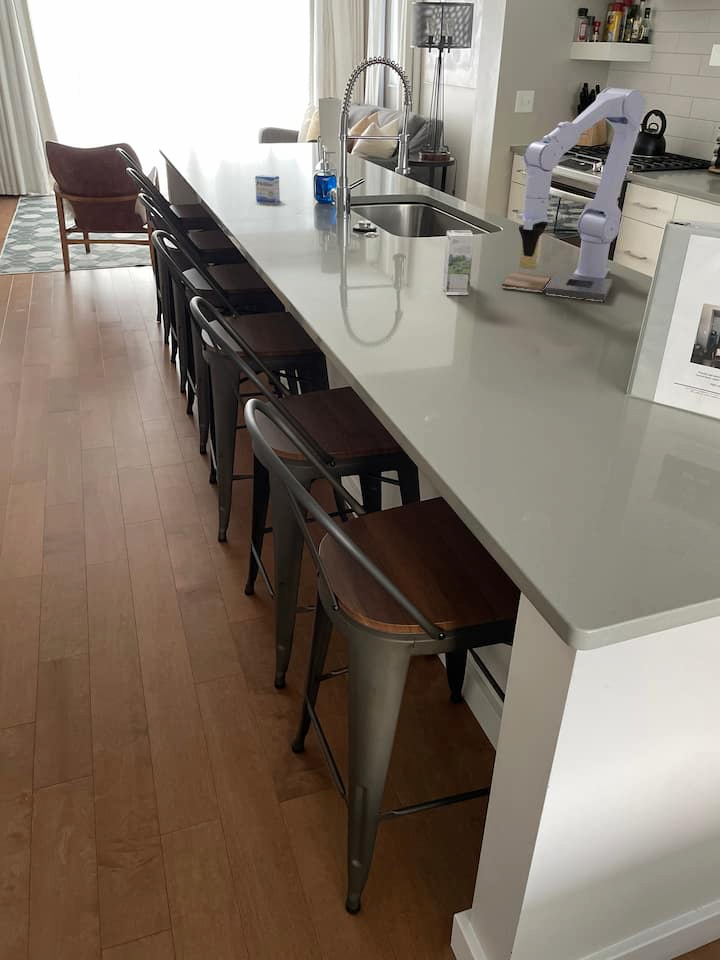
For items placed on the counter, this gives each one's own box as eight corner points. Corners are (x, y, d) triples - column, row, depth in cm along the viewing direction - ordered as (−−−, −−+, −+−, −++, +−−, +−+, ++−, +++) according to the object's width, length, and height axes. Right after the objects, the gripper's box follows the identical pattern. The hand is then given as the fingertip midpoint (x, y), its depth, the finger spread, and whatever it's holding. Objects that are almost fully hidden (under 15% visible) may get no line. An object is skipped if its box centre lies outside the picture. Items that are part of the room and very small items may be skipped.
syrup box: (465, 289, 195) (470, 229, 188) (469, 296, 190) (474, 234, 183) (442, 289, 195) (446, 229, 188) (445, 296, 190) (449, 234, 182)
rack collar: (555, 281, 202) (556, 273, 201) (611, 287, 198) (612, 279, 197) (544, 295, 191) (545, 287, 190) (604, 302, 186) (605, 294, 185)
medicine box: (255, 200, 293) (254, 176, 289) (260, 198, 297) (259, 174, 293) (275, 202, 291) (274, 177, 287) (280, 200, 295) (279, 175, 291)
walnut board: (512, 276, 205) (512, 272, 205) (550, 281, 202) (551, 276, 201) (501, 288, 196) (502, 283, 195) (541, 293, 192) (542, 288, 192)
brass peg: (522, 264, 199) (526, 231, 195) (538, 266, 198) (542, 233, 194) (519, 268, 196) (522, 235, 192) (535, 269, 194) (539, 236, 190)
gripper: (526, 190, 195) (520, 246, 202) (513, 200, 184) (507, 258, 190) (555, 192, 193) (547, 248, 200) (543, 202, 181) (536, 262, 188)
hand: (530, 254), depth 195 cm, fingers closed on brass peg, 4 cm apart
